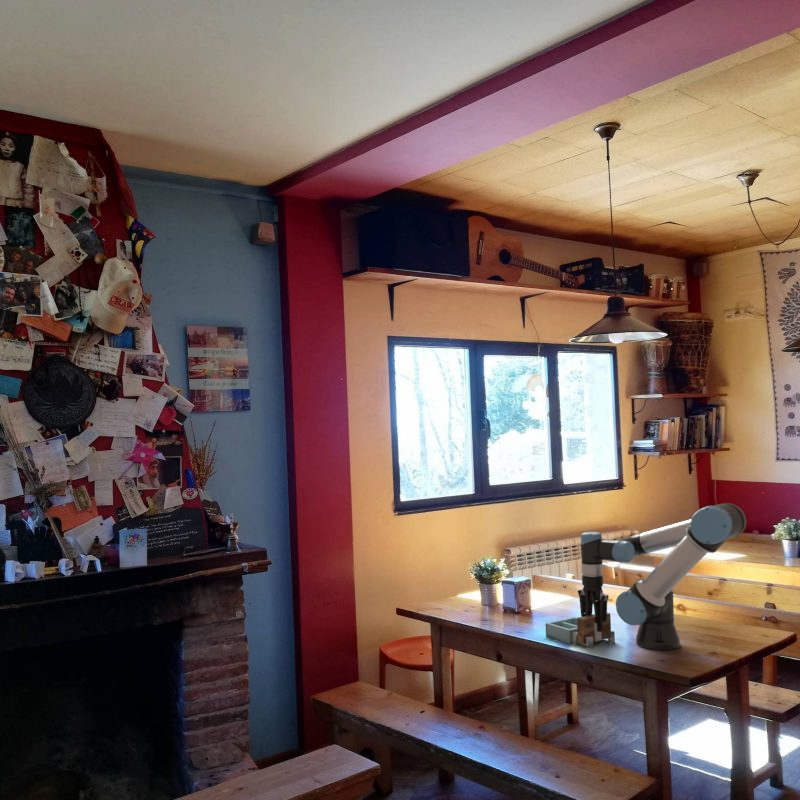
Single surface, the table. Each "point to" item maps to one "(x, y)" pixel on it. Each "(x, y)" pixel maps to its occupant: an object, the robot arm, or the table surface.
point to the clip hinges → (590, 639)
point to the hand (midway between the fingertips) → (594, 638)
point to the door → (591, 628)
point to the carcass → (562, 629)
